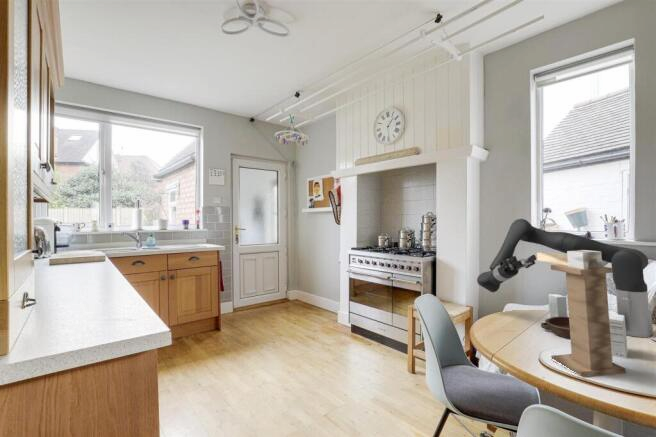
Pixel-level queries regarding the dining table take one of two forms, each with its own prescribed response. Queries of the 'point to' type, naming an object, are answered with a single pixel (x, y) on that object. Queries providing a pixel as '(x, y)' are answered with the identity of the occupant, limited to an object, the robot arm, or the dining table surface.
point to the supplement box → (618, 335)
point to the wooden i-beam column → (588, 322)
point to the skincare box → (557, 305)
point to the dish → (558, 326)
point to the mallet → (574, 259)
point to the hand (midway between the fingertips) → (525, 257)
